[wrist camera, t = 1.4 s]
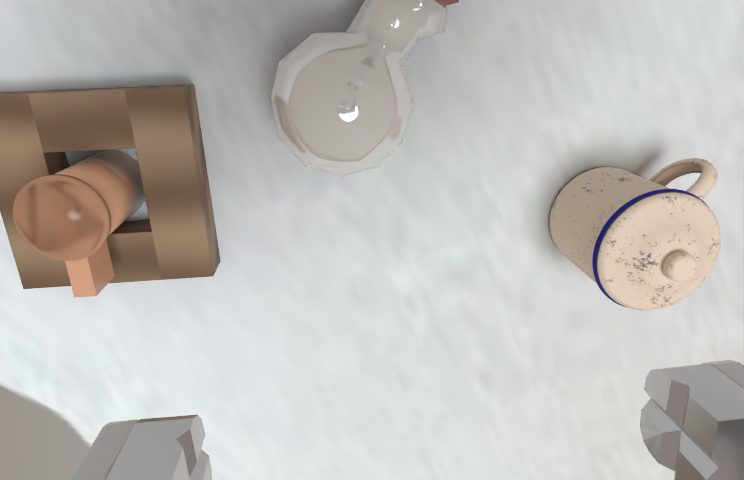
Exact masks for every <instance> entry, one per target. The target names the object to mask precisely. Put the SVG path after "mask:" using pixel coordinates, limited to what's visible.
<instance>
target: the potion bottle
mask: <svg viewBox="0 0 744 480" xmlns="http://www.w3.org/2000/svg"><path fill="white" fill-rule="evenodd" d="M458 1H459V0H365V1H364V3H363V5H362V6H361V8H360V10H359V11H358V13H357V15H356V16H355V18H354V20H353V21H352V23H351V25H350V26H349V28H348V30H347V31H346V32H327V33H312V34H311V35H310V36H309V37H308V38H306V39H305V40H304V41H303V42H302V43H301V44H299V45H298V46H297V47H296V48H295V49H294V50H292V51H291V52H290V53H289V54H288V55H287V56H285V57H284V58H283V59H282V60H281V61H279V63H278V68H277V73H276V77H275V82H274V86H273V91H272V95H271V102H272V108H273V113H274V117H275V122H276V127H277V132H278V137H279V139H280V140H281V141H282V142H283V143H284V144H285V145H286V146H287V148H288V149H289V150H290V151H291V152H292V153H293V154H294V155H295V156H296V157H297V158H298V159H299V160H300V161H301V162H302V164H303V165H304V166H307V167H310V168H313V169H317V170H320V171H323V172H326V173H330V174H333V175H336V176H340V177H344V176H347V175H351V174H355V173H358V172H362V171H365V170H369V169H373V168H376V167H379V166H380V165H381V164H382V163H383V162H384V161H385V160H386V159H387V158H388V157H389V156H390V155H391V154H392V153H393V151H394V150H395V149H396V148H397V147H398V146H399V145H400V144H401V142H402V140H403V137H404V134H405V131H406V128H407V125H408V122H409V119H410V117H411V114H412V111H413V108H414V105H415V103H414V101H413V98H412V95H411V93H410V90H409V88H408V85H407V82H406V80H405V77H404V75H403V72H402V69H401V67H402V66H403V64H404V62H405V61H406V59H407V57H408V56H409V54H410V53H411V51H412V49H413V48H414V46H415V45H416V43H417V41H418V40H419V39H422V38H425V37H428V36H432V35H435V34H438V33H441V32H445V24H446V15H447V9H446V5H449V4H453V3H457V2H458Z"/></svg>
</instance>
